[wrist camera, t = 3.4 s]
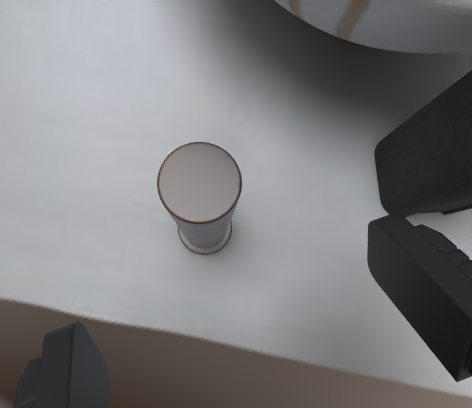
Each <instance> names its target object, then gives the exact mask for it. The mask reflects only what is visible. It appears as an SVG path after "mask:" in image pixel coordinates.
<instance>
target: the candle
mask: <svg viewBox="0 0 472 408" xmlns="http://www.w3.org/2000/svg"><path fill="white" fill-rule="evenodd" d="M375 160H376V168H377V175H378V183H379V190H380V198H381V202H382V205H383V207H384V209H385V210H386V211H387V212H388V213H390V214H393V213H399V214H401V215H402V216H403V217H406V216H410V215H413V214H416V213H432V212H442V214H443V215H446V214H451V213H455V212H459V211H463V210H467V209H471V208H472V70H471V71H470V72H469V73H467V74H466V75H465V76H463V77H462V78H461V79H460V80H458V81H457V82H456V83H454V84H453V85H452V86H451V87H449V88H448V89H447V90H445V91H444V92H443V93H442V94H440V95H439V96H438V97H436V98H435V99H434V100H433V101H431V102H430V103H429V104H427V105H426V106H425V107H424V108H422V109H421V110H420V111H418V112H417V113H416V114H415V115H413V116H412V117H411V118H410V119H408V120H407V121H406V122H404V123H403V124H402V125H401V126H399V127H398V128H397V129H395V130H394V131H393V132H392V133H390V134H389V135H388V136H386V137H385V138H384V139H383V140H381V141H380V142H379V143H378V145H377V147H376V150H375Z"/></svg>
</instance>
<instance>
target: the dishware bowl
mask: <svg viewBox="0 0 472 408" xmlns="http://www.w3.org/2000/svg"><path fill="white" fill-rule="evenodd" d="M275 1H276V2H277V3H278V4H280V5H281V6H282V7H284V8H285V9H286V10H288V11H289V12H291V13H292V14H294V15H295V16H297V17H298V18H300V19H302V20H303V21H305V22H307V23H309V24H310V25H312V26H314V27H316V28H318V29H320V30H322V31H324V32H327V33H329V34H331V35H334V36H336V37H339V38H342V39H344V40H347V41H350V42H353V43H357V44H361V45H364V46H368V47H373V48H378V49H383V50H390V51H397V52H408V53H456V52H467V51H472V0H275Z"/></svg>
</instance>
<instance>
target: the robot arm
mask: <svg viewBox="0 0 472 408" xmlns="http://www.w3.org/2000/svg"><path fill="white" fill-rule="evenodd" d="M367 261H368V266H369V269H370V272H371V274H372V276H373V278H374V279H375V281H376V282H377V283H378V285H379V286H380V287H381V288H382V290H383V291H384V292H385V293H386V295H387V296H388V297H389V298H390V300H391V301H392V302H393V303H394V305H395V306H396V307H397V308H398V310H399V311H400V312H401V313H402V315H403V316H404V317H405V318H406V320H407V321H408V322H409V323H410V324H411V326H412V327H413V328H414V329H415V331H416V332H417V333H418V334H419V336H420V337H421V338H422V339H423V341H424V342H425V343H426V344H427V346H428V347H429V348H430V349H431V351H432V352H433V353H434V354H435V356H436V357H437V358H438V359H439V361H440V362H441V363H442V364H443V366H444V367H445V368H446V369H447V371H448V372H449V373H450V374H451V376H452V377H453V378H454V379H455V381H456V382H459V381H461V380H464V379H466V378H468V377H471V376H472V260H470V259H469V257H468V256H467V255H466V254H465V253H464V252H462V251H461V250H460V249H457V246H456V245H454V244H453V243H452V242H451V241H450V240H449V239H447V238H446V237H445V236H444V235H443V234H442V233H440V232H438V231H435V230H433V229H431V228H429V227H426V226H424V225H422V224H420V225H418V226H415V227H414V226H413V225H412V224H411V223H410V222H409V221H408V220H407V219H405V218H404V217H403V216H402V215H401V214H399V213H393V214H390V215H387V216H385V217H382V218H379V219H376V220H373V221H371V222H370V223H369V225H368V254H367ZM14 408H109V374H108V368H107V364H106V361H105V358H104V356H103V354H102V352H101V351H100V349H99V348H98V346H97V345H96V344H95V342H94V341H93V339H92V338H91V336H90V335H89V333H88V332H87V330H86V329H85V328H84V326H83V325H82V324H81V323H80V322H79V321H77V322H74V323H71V324H68V325H66V326H62V327H60V328H57V329H54V330H51V331H48V332H47V333H46V334H45V337H44V343H43V350H42V357H39V358H36V359H34V360H30V362H29V364H28V365H27V367H26V369H25V371H24V373H23V375H22V376H21V378H20V380H19V382H18V385H17V390H16V395H15V400H14Z"/></svg>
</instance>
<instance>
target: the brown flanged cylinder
mask: <svg viewBox="0 0 472 408" xmlns="http://www.w3.org/2000/svg"><path fill="white" fill-rule="evenodd" d="M157 188H158V193H159V197H160V199H161V201H162V203H163V205H164V206H165V208H166V209H167V211H168V212H169V214H170V215H171V217H172V218H173V219H174V221H175V222H176V224H177V225H178V232H179V236H180V239H181V241H182V242H183V244H184V245H185V246H186V247H187V248H188V249H189V250H191V251H192V252H194V253H197V254H202V255H208V254H213V253H215V252H217V251H219V250H221V249H222V248H223V247H224V246H225V245H226V243H227V242H228V240H229V238H230V235H231V230H232V224H231V218H232V215H233V212H234V210H235V207H236V204H237V202H238V199H239V197H240V193H241V188H242V178H241V173H240V170H239V167H238V165H237V163H236V162H235V160H234V159H233V158H232V156H231V155H230V154H229V153H228V152H226V151H225V150H224V149H222V148H220V147H219V146H216V145H214V144H210V143H205V142H194V143H189V144H185V145H183V146H181V147H179V148H177V149H175V150H174V151H173V152H171V153H170V154H169V155H168V156H167V158H166V159H165V160H164V162H163V163H162V165H161V168H160V170H159V173H158V179H157Z"/></svg>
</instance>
